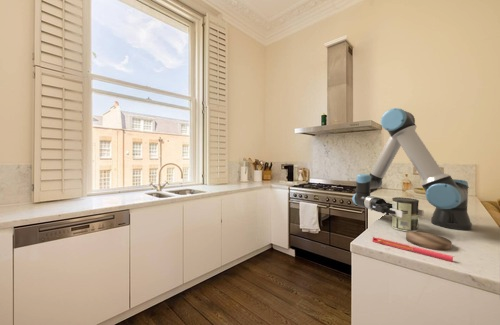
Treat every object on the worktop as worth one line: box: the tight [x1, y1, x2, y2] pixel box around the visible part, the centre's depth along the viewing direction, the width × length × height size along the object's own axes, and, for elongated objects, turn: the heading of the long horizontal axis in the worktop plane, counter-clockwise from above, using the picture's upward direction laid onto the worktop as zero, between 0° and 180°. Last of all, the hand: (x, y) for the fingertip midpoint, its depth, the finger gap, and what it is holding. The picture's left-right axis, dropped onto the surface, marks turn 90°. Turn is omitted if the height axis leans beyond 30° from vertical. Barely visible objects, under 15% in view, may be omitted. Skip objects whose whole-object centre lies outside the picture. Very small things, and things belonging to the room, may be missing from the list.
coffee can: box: [391, 196, 420, 233], centre depth 104 cm, size 10×10×14 cm
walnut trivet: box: [405, 231, 453, 251], centre depth 87 cm, size 14×14×2 cm
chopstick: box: [372, 236, 455, 263], centre depth 80 cm, size 24×2×5 cm
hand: (412, 214), depth 100 cm, fingers open, 11 cm apart
